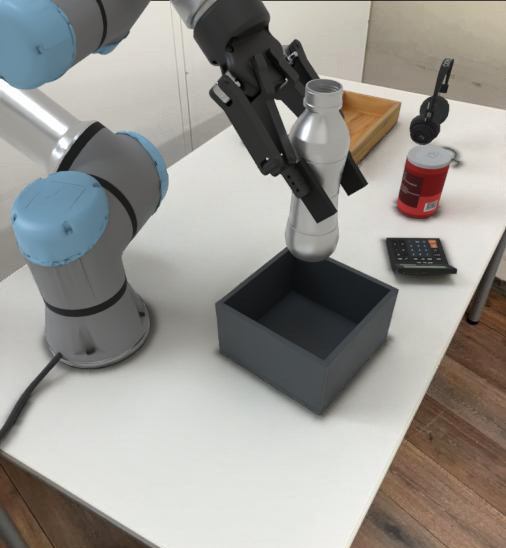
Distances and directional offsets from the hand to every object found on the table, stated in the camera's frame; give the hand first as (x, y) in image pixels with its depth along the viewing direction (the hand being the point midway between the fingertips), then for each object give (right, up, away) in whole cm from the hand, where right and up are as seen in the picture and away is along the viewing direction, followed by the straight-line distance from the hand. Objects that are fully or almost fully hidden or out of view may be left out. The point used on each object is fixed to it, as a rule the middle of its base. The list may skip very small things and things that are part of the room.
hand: (343, 203), depth 56 cm
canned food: (+22, +10, +43) cm, 49 cm away
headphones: (+29, +24, +56) cm, 67 cm away
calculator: (+18, -2, +32) cm, 37 cm away
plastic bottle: (-3, -4, +8) cm, 9 cm away
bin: (-2, -16, +19) cm, 25 cm away
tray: (+11, +30, +62) cm, 70 cm away
